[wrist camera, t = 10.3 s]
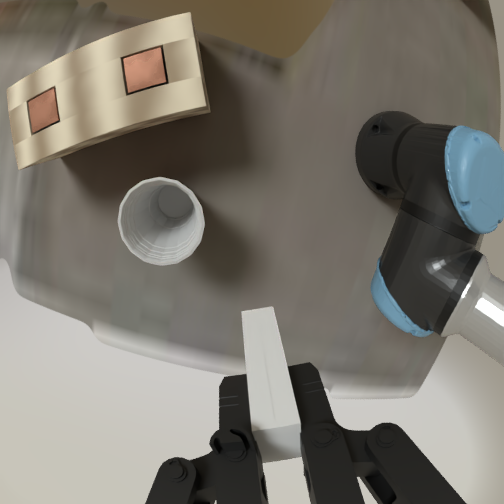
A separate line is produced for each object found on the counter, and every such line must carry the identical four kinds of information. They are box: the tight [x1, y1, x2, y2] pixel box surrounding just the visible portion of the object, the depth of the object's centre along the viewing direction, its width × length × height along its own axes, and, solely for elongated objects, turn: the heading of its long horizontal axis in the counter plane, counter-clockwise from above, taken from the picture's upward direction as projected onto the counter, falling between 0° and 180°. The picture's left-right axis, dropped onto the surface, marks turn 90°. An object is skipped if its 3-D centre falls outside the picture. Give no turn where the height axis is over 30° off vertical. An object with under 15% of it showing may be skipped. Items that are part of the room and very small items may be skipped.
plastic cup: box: [118, 177, 205, 266], centre depth 38 cm, size 11×11×12 cm
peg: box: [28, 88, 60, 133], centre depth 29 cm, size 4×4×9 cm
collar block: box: [7, 12, 211, 170], centre depth 31 cm, size 26×12×12 cm, turn 99°
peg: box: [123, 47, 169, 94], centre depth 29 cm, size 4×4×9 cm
